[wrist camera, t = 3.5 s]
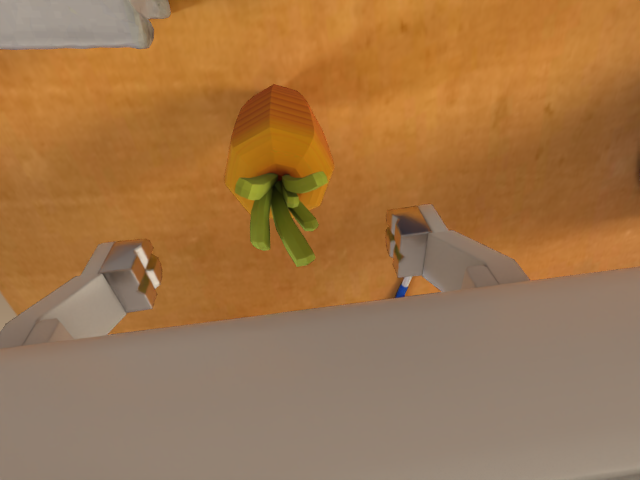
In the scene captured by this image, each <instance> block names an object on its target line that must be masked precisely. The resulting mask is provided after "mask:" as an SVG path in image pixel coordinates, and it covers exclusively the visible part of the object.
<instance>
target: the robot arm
mask: <svg viewBox="0 0 640 480" xmlns="http://www.w3.org/2000/svg"><path fill="white" fill-rule="evenodd" d="M386 221H387V223H388V226H389V227H388V228H387V229H386V235H385V238H386V247H387V251H388V254H389V256H390V257H392V258H393V267H394V269H395V272H396V274H397V277H398V278H400V277H410V276H420V275H422V277H424V278H425V279H426V280H428V281H429V282H430V283H431V284H433V285H434V286H435V287H437V288H438V289H439V290H440V291H442V292H438V293H430V294H423V295H415V296H407V297H399V298H391V299H384V300H376V301H368V302H360V303H353V304H345V305H337V306H329V307H322V308H314V309H306V310H298V311H290V312H283V313H275V314H267V315H259V316H251V317H244V318H236V319H228V320H220V321H212V322H205V323H197V324H189V325H181V326H173V327H166V328H158V329H150V330H142V331H134V332H127V333H119V334H111V335H107V334H108V333H109V332H110V331H111V330H112V329H113V328H114V327H115V326H116V325H117V324H118V323H119V322H120V320H121V319H122V318H123V317H124V316H125V315H126V314H127V313H128V312H134V311H141V310H147V309H152V308H153V305H154V302H155V299H156V296H157V293H156V291H155V288H157V287H158V286H159V285H160V284H161V280H162V267H161V263H160V261H159V258H158V257H156V256H155V255H153V254H152V251H153V246H152V244H151V242H150V240H148V239H135V240H125V241H117V242H107V243H101V244H99V245H98V246H97V248H96V250H95V251H94V253H93V255H92V257H91V258H90V260H89V262H88V263H87V265H86V267H85V269H84V270H83V272H82V274H81V276H75V277H74V278H72V279H71V280H70V281H68V282H67V283H65V284H64V285H62V286H61V287H59V288H58V289H56V290H55V291H53V292H52V293H50V294H49V295H47V296H46V297H45V298H43V299H42V300H40V301H39V302H37V303H36V304H34V305H33V306H31V307H30V308H28V309H27V310H25V311H24V312H22V313H21V314H20V315H18V316H17V317H15V318H14V319H12V320H11V321H9V322H8V323H7V324H6V325H5V326H4V328H3V329H2V331H1V332H0V480H640V267H632V268H624V269H616V270H609V271H601V272H593V273H586V274H578V275H570V276H563V277H555V278H547V279H539V280H532V281H530V279H529V278H528V277H527V275H526V274H525V273H524V271H523V270H522V269H521V268H520V266H519V265H518V264H517V262H516V261H515V260H514V259H512V258H510V257H508V256H506V255H503V254H501V253H499V252H497V251H495V250H493V249H491V248H489V247H487V246H485V245H483V244H481V243H479V242H476V241H474V240H472V239H470V238H468V237H466V236H464V235H462V234H460V233H458V232H456V231H454V230H450V231H449V230H448V229H447V227H446V226H445V224H444V222H443V221H442V219H441V218H440V216H439V215H438V213H437V211H436V210H435V208H434V207H433V205H432V204H424V205H418V206H413V207H406V208H398V209H391V210H387V214H386Z"/></svg>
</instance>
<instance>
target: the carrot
mask: <svg viewBox="0 0 640 480" xmlns="http://www.w3.org/2000/svg"><path fill="white" fill-rule="evenodd" d="M333 169H334V162H333V159H332V156H331V153H330V149H329V146H328V143H327V141H326V138H325V136H324V133H323V130H322V129H321V127H320V125H319V123H318V121H317V119H316V118H315V116H314V114H313V112H312V110H311V108H310V107H309V105H308V103H307V101H306V100H305V99H304V97H303V96H302V95H301V94H300V93H299V92H298V91H295V90H292V89H288V88H285V87H282V86H278V85H275V84H273V85H272V86H270V87H268V88H267V89H265V90H263V91H262V92H260V93H258V94H257V95H255V96H253V97H252V98H251V99H250V100H249V101H248V102H247V103H246V104H245V105H244V106H243V107H242V108H241V110H240V113H239V115H238V118H237V121H236V124H235V127H234V130H233V134H232V137H231V142H230V147H229V153H228V159H227V165H226V171H225V176H224V182H225V184H226V186H227V187H228V188H229V190H230V191H231V192H232V193H233V195H234V196H235V197H236V198H237V199H238V201H239V202H240V203H241V204H242V206H243V207H244V208H245V209H246V210H247V212H248V213H249V214H251V220H250V241H251V243H252V245H253V246H254V247H256V248H257V249H260V250H264V251H265V250H270V226H269V218H271V219H274V223H275V226H276V230H277V232H278V234H279V236H280V238H281V240H282V242H283V244H284V246H285V248H286V250H287V252H288V253H289V255H290V256H291V258H292V260H293V261H294V263H295V264H296V266H297V267H299V266H305V265H308V264H309V263H311V262H312V261H314V259H315V255H314V253H313V251H312V249H311V248H310V246H309V244H308V243H307V241H306V239H305V238H304V236H303V235H302V233H301V232H300V230H299V229H298V227H297V226H296V224H295V223H294V221H293V218H295V219H296V220H297V221H298V223H299V224H300V225H301V226H302V228H303V229H304V230H305V231H314V230H315V229H316V228H317V227H318V225H319V224H318V222H317V220H316V218H315V217H314V216H313V215H312V214H311V213H310V210H312V209H314V208H316V207H318V206H320V205H321V202H322V199H323V196H324V194H325V191H326V188H327V186H328V183H329V180H330V177H331V175H332V172H333Z"/></svg>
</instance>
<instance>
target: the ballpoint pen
mask: <svg viewBox="0 0 640 480" xmlns="http://www.w3.org/2000/svg"><path fill="white" fill-rule="evenodd" d="M411 278H412V276H410V277H405V278H404V280H403V282H402V284H401V285H400V287H399V290H398V292H397V294H396V297H395V298H399V297H405V293H406V291H407V288H408V285H409V283H410V280H411Z"/></svg>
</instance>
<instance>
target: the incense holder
mask: <svg viewBox="0 0 640 480" xmlns="http://www.w3.org/2000/svg"><path fill="white" fill-rule="evenodd" d="M170 13H171V11H170V6H169V2H168V0H0V49H10V50H20V49H58V48H77V49H87V48H98V47H111V48H119V47H131V48H136V49H145V48H149V47H150V45H151V44H152V41H153V38H154V28H153V26H152V24H151V22H150V21H149V20H148V19H150V18H155V19H164V18H168V17H169V16H170Z"/></svg>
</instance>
